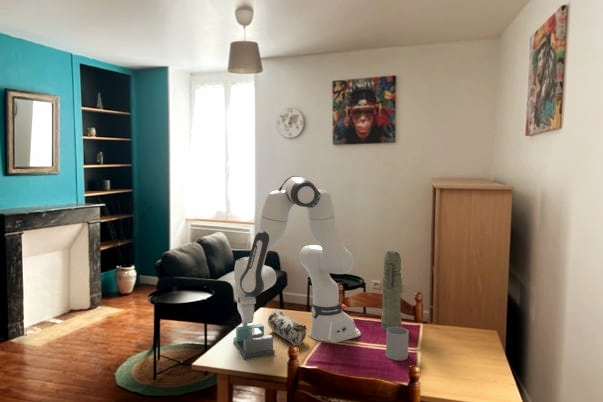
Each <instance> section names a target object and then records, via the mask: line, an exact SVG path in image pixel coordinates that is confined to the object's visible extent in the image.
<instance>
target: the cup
mask: <svg viewBox="0 0 603 402" xmlns="http://www.w3.org/2000/svg"><path fill="white" fill-rule="evenodd" d="M385 336H386V342H385V343H386V344H385V346H386V347H385V356H386V357H387V358H388V359H390V360H394V361H405V360H407V359H408V357H409V330H408V329H407V328H404V327H402V326H401V327H389V328H387V331H386V335H385Z"/></svg>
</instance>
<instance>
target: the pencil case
mask: <svg viewBox="0 0 603 402" xmlns="http://www.w3.org/2000/svg"><path fill="white" fill-rule="evenodd" d="M267 324H268V326H269V328H270V329H271V330H272V332H274V333H276V334H277V335H279V336H280V337H281V338H282V339H285V340H287V341H288V342H289V343H291V344H292V345H294V346H300V345H301V344H303V342H304V340H305V339H306V337H307V330H308V329H307V326H306V325H304V324H302V323H300V322H297V321H296V320H294V319H292V318H291V317H289V316H288V315H284V313H283V312H282V311H280V310H278V309H273V310H272V311H271V313H270V314H269V316H268V318H267Z"/></svg>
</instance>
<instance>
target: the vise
mask: <svg viewBox="0 0 603 402" xmlns="http://www.w3.org/2000/svg"><path fill="white" fill-rule="evenodd" d="M233 344H234V346H235V347H236V349H237V350H238V351H239V353H240V355H241V357H242V356H243V357H242V359H243V360H244V361H247V360H253V359H254V360H255V359H258V358H259V359H260V358H265V357H270V356H271V357H272V356H275V355H276V353H275V348H274V337H273V336H272V334H267V335H265V334H264V336H258V337H251V338H244V341H240V342H238V341H237V340H236V336H235V337H233Z"/></svg>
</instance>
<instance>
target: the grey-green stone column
mask: <svg viewBox="0 0 603 402" xmlns="http://www.w3.org/2000/svg"><path fill="white" fill-rule="evenodd" d="M400 254H401V253H400V252H398V251H392V250H391V251H387V252H385V255H384V256H383V276H382V278H381V291H382V313H381V318H380V323H381V330H383V331H384V332H387V328H389V327H402V315H401V295H402V292H403V289H402V288H403V278H402V275H401V273H402V272H401V270H402V259H401V255H400Z"/></svg>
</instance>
